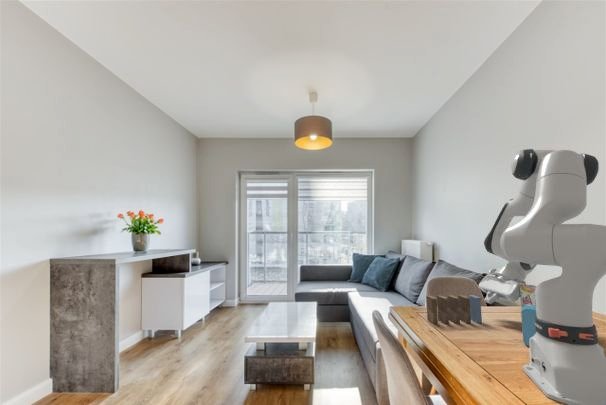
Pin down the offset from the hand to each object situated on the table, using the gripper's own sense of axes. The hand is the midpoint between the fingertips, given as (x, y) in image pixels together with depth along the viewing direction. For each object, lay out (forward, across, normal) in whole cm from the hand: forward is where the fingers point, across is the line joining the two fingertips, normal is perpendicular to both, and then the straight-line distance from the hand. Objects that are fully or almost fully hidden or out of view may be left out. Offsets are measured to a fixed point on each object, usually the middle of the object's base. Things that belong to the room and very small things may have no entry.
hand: (487, 302), depth 123 cm
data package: (+5, -28, -6) cm, 29 cm away
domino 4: (+12, 0, +2) cm, 12 cm away
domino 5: (+9, 0, -2) cm, 9 cm away
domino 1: (+22, 0, +11) cm, 25 cm away
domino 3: (+15, 0, +5) cm, 16 cm away
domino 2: (+19, 0, +8) cm, 20 cm away
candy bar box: (0, -16, -11) cm, 19 cm away
